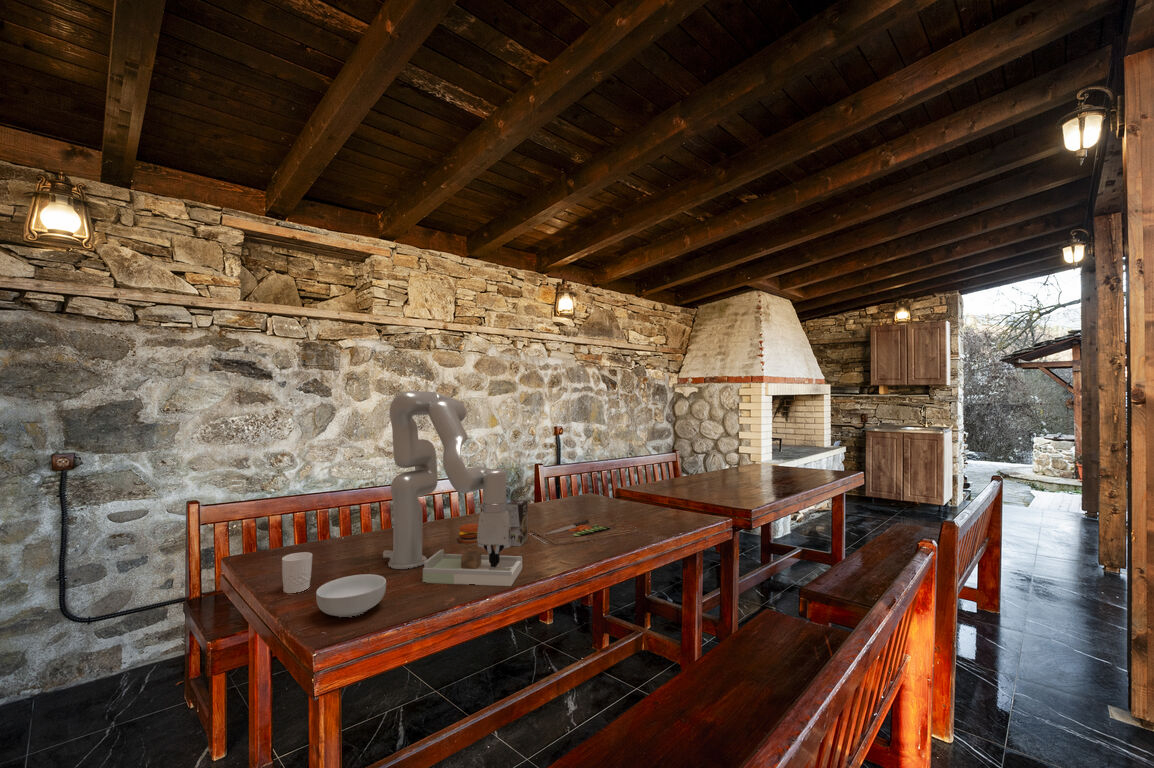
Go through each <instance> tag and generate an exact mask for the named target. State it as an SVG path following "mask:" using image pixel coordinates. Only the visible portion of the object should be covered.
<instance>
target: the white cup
mask: <svg viewBox="0 0 1154 768" xmlns="http://www.w3.org/2000/svg"><path fill="white" fill-rule="evenodd" d="M312 565H313V553H312V552H305V551H304V552H295V553H290V554H287V555H284V556H283V557H282V558H281V573H282V574H281V575H282V584H283V585H282V590H283V591H284V592H286V593H296V592H301V591H304V590H306V589H308V588H309V587H310V588H311V579H312V578H311V577H312V567H313V566H312ZM310 588H309V589H310ZM309 589H308V590H309ZM284 592H283V593H284Z"/></svg>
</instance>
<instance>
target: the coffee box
mask: <svg viewBox="0 0 1154 768" xmlns="http://www.w3.org/2000/svg"><path fill="white" fill-rule="evenodd" d="M528 502H529V501H528V500H526V499H525V500H523V499H518V500H515V499H513V500H512V501H510V502H508V503H506V511H508V513H509V519H510V528H511V539H510V542H511V546H512V547H522V545H524V544H525V543H526V542H527V541H528V535H529V532H528V530H529V529H528V528H529V527H528V522H529V521H528V520H529V519H528V517H529V516H528V509H529V507H528ZM511 546H510V547H511Z"/></svg>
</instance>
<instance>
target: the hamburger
mask: <svg viewBox="0 0 1154 768" xmlns="http://www.w3.org/2000/svg"><path fill="white" fill-rule="evenodd" d="M477 531H478V523H474V522H471V523H465V524H463V525H461V526H459V527H458V537H459V538H458V542H459V543H462V542H463V543H462V544H475V543H474V542H476V543H478V542H477Z"/></svg>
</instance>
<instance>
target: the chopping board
mask: <svg viewBox="0 0 1154 768" xmlns="http://www.w3.org/2000/svg"><path fill="white" fill-rule="evenodd" d="M603 519H604V518H597V519H591V520H590V519H584V520H581V521H576V522H570V523H562V524H555V525H548V526H541V527H535V528H532V529H531V532H528V535H529V534H530V535H529V536H531V535H532V534H534V533H535V535H532V536H533V537H532V536H531V537H532V538H534V537H535V538H534V539H535V540H537V539H538V540H537V541H539V540H540V541H541V543H542V542H543V543H542V544H544V545H547V543H546V542H550V543H549V544H551V543H552V544H551V545H553V544H554V545H553V546H556V545H564V546H568V545H567V544H570V545H575V544H574V543H576V544H580V543H579V542H582V543H586V542H585V541H588V542H591V541H590V540H594V541H596V540H595V539H599V538H603V537H609V536H614V535H620V534H626V533H632V532H636V531H638V528H637V529H634V531H631V532H625V531H630V530H629V529H628V530H627V529H626V530H624V528H620V529H623V530H624V531H623V530H621V531H620V530H618V531H619V532H625V533H619V534H614V533H618V531H617V529H619V528H617V529H616V527H613V524H614V523H610V521H607V520H603ZM607 519H608V520H609V519H610V518H607ZM597 520H601V521H597ZM592 521H594V522H592ZM604 521H605V522H604ZM606 522H609V523H606ZM605 523H606V524H605ZM616 523H617V522H616ZM621 525H623V524H621ZM616 526H617V525H616ZM624 526H627V525H624ZM619 527H620V525H619ZM627 527H629V526H627ZM613 528H614V529H613ZM629 528H632V527H629ZM536 530H538V532H537V531H536ZM532 532H533V533H532ZM539 532H540V533H539ZM536 534H537V535H539V536H540V537H539V536H537V535H536ZM608 534H613V535H608ZM544 535H545V536H544ZM603 535H606V536H603ZM546 536H547V537H546ZM599 536H600V537H599ZM541 537H542V538H543V540H542V538H541ZM544 539H545V540H544ZM551 539H552V540H551ZM546 540H547V541H546ZM553 540H554V541H553ZM540 541H539V542H540Z"/></svg>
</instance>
